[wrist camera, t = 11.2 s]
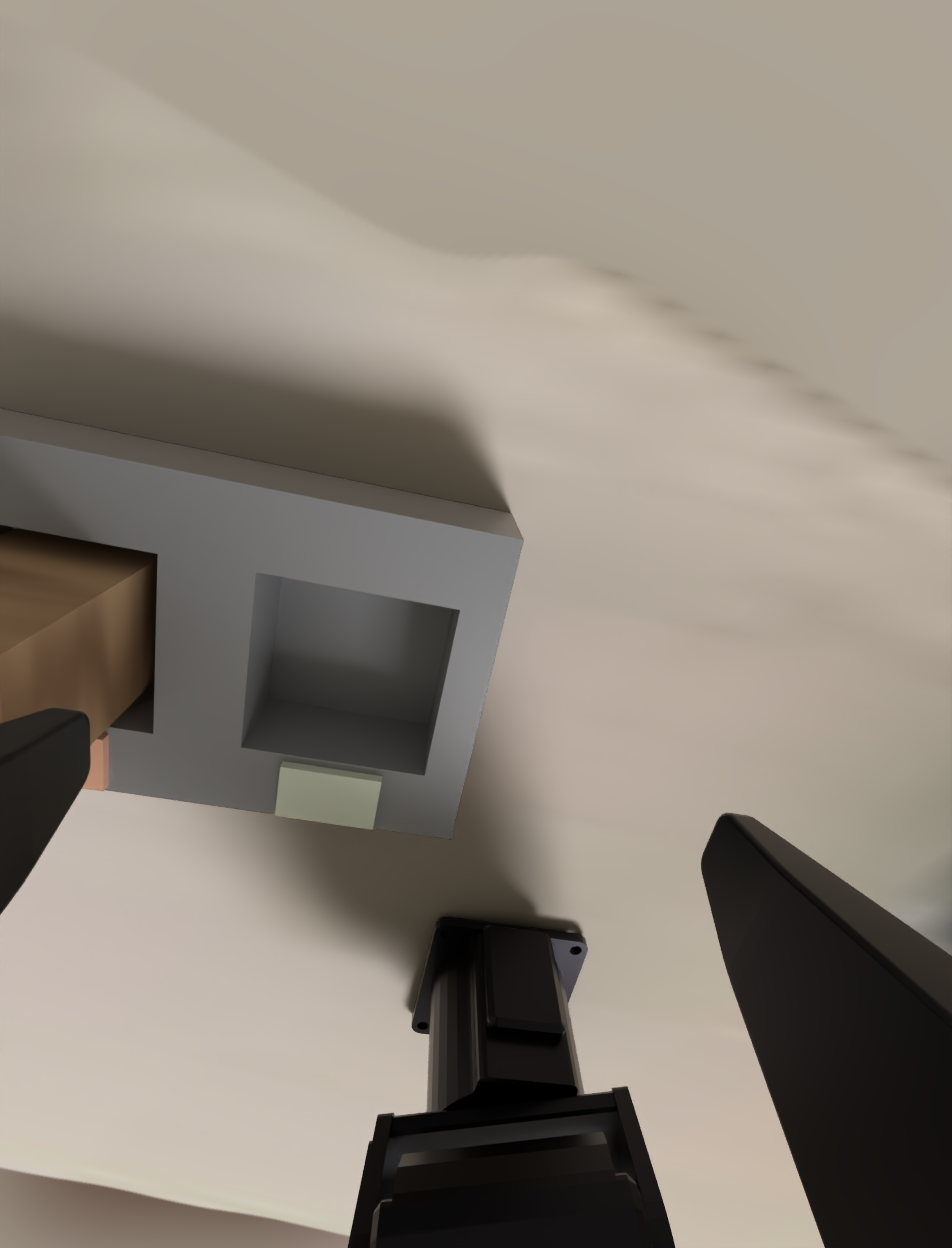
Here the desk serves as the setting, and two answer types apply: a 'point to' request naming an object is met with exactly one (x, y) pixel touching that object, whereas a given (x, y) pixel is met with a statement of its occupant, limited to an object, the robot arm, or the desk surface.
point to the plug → (74, 626)
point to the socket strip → (282, 625)
